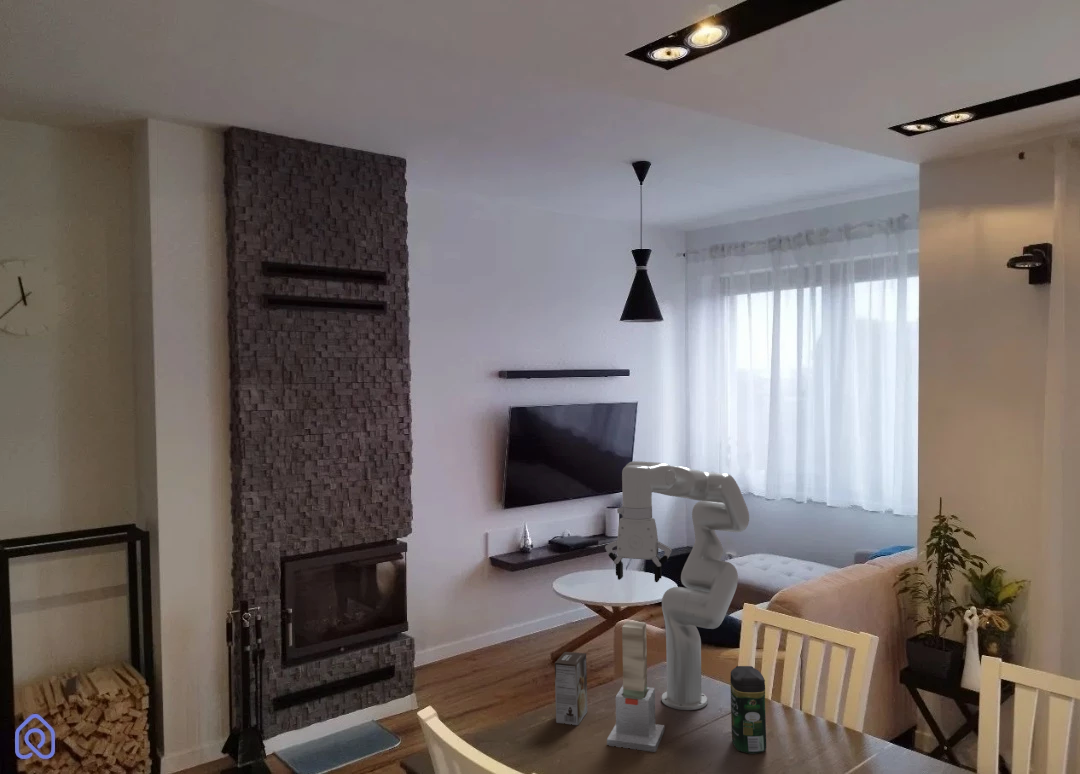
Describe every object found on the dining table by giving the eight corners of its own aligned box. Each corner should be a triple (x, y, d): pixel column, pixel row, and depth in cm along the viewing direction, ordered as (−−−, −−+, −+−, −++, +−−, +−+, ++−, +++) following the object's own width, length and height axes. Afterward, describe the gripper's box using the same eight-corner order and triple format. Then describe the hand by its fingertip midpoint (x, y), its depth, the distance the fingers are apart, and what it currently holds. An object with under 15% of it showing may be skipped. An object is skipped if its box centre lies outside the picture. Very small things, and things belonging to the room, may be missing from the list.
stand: (618, 725, 202) (617, 681, 202) (664, 731, 198) (663, 686, 198) (606, 745, 191) (606, 698, 191) (655, 752, 187) (654, 704, 187)
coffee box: (565, 709, 213) (564, 650, 213) (588, 712, 211) (587, 652, 211) (555, 723, 204) (554, 662, 204) (578, 726, 202) (577, 664, 202)
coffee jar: (728, 736, 194) (727, 662, 194) (760, 737, 194) (759, 662, 194) (735, 755, 185) (734, 677, 185) (769, 755, 184) (768, 677, 184)
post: (628, 699, 198) (626, 621, 198) (647, 701, 196) (646, 622, 196) (623, 707, 193) (622, 626, 193) (643, 709, 191) (642, 628, 191)
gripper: (601, 514, 200) (602, 581, 200) (668, 517, 194) (669, 585, 194) (608, 509, 207) (609, 574, 207) (673, 512, 201) (674, 578, 201)
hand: (638, 579), depth 200 cm, fingers open, 9 cm apart
